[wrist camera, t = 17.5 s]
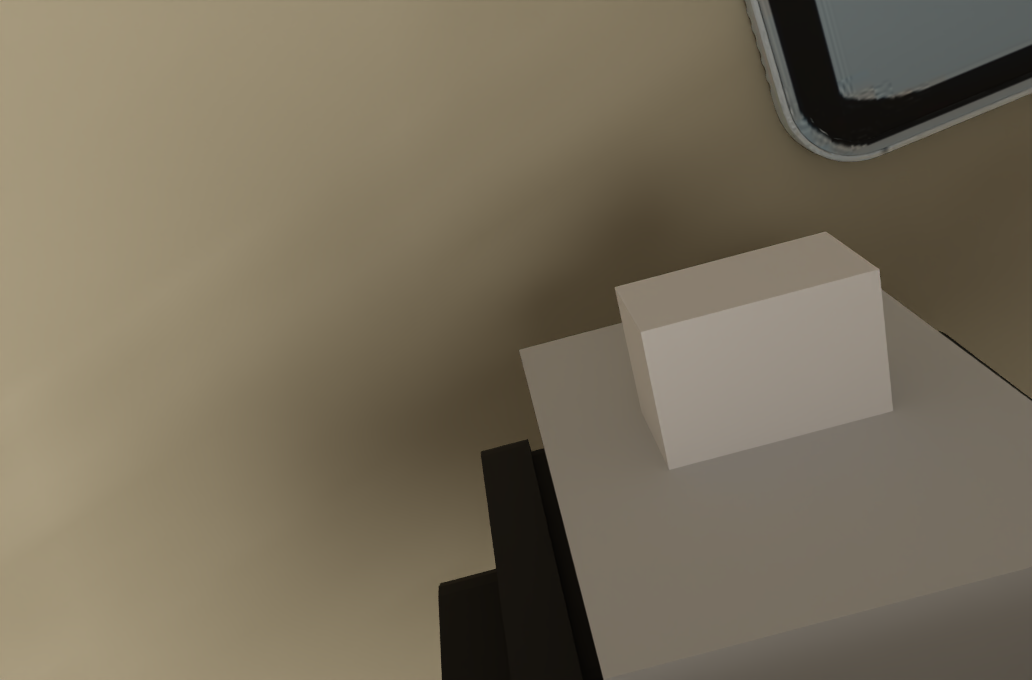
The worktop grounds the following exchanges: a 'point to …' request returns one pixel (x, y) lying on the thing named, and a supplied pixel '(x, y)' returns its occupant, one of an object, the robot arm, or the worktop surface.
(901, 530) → the cable plug
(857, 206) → the worktop surface
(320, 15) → the worktop surface
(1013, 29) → the smartphone
